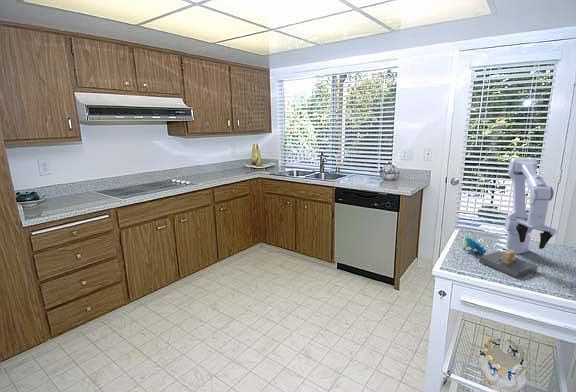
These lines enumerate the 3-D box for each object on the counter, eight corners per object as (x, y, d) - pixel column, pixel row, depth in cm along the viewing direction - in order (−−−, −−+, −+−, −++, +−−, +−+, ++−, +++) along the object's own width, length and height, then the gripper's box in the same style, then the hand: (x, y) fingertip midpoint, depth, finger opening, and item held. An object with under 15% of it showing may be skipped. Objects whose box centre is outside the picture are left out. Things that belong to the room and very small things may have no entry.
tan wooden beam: (506, 264, 136) (509, 249, 134) (513, 266, 133) (515, 251, 132) (500, 266, 134) (502, 251, 132) (506, 268, 132) (509, 253, 130)
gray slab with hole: (498, 256, 143) (499, 251, 143) (536, 271, 129) (537, 265, 128) (479, 261, 138) (479, 256, 138) (516, 277, 124) (517, 272, 124)
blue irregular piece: (491, 253, 142) (477, 239, 141) (482, 263, 143) (468, 248, 141) (475, 247, 153) (462, 234, 152) (467, 256, 154) (453, 242, 152)
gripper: (512, 211, 134) (508, 240, 137) (551, 221, 121) (544, 253, 124) (523, 209, 137) (518, 238, 140) (562, 218, 124) (555, 250, 127)
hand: (531, 245), depth 132 cm, fingers open, 7 cm apart
